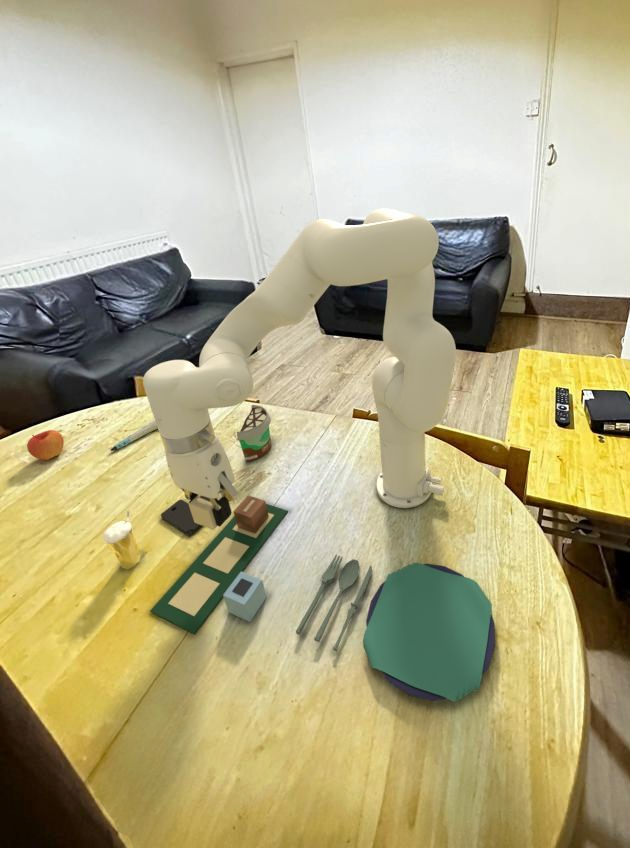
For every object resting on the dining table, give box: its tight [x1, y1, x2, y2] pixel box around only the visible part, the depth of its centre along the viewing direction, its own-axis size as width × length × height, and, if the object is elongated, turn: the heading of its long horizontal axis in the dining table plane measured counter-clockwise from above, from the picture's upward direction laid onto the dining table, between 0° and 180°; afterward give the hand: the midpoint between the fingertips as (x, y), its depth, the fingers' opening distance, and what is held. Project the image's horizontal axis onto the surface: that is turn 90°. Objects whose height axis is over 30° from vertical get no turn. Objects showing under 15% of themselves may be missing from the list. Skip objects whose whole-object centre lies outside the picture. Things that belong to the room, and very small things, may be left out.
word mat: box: [149, 503, 289, 635], centre depth 79 cm, size 10×26×1 cm, turn 157°
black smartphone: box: [160, 499, 202, 537], centre depth 88 cm, size 5×1×10 cm
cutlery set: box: [295, 554, 496, 703], centre depth 66 cm, size 20×30×2 cm, turn 69°
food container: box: [236, 404, 272, 463], centre depth 105 cm, size 12×6×10 cm, turn 179°
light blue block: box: [223, 571, 268, 623], centre depth 69 cm, size 4×4×5 cm
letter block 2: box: [232, 494, 269, 533], centre depth 84 cm, size 4×4×5 cm
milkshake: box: [102, 510, 142, 570], centre depth 77 cm, size 5×5×10 cm
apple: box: [26, 429, 65, 461], centre depth 108 cm, size 7×7×8 cm
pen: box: [109, 420, 158, 452], centre depth 115 cm, size 19×3×3 cm, turn 145°
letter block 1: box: [188, 493, 232, 531], centre depth 73 cm, size 4×4×5 cm
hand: (212, 515), depth 74 cm, fingers closed on letter block 1, 4 cm apart
